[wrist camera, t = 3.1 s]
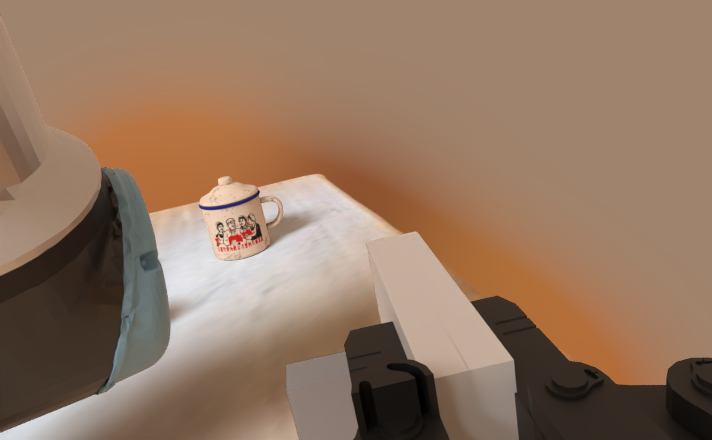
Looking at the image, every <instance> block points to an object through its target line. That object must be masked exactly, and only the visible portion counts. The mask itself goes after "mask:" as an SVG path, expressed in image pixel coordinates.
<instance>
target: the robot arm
mask: <svg viewBox="0 0 712 440" xmlns="http://www.w3.org/2000/svg"><path fill="white" fill-rule="evenodd" d="M366 245H367V251H368V256H369V261H370V267H371V272H372V277H373V283H374V288H375V293H376V299H377V304H378V309H379V315H380V320H381V324H378V325H374V326H369V327H365V328H360V329H356V330H352V331H350V333H349V335H348V338H347V340H346V342H345V344H344V347H345V352H346V358H347V363H348V368H349V373H350V379H351V384H352V389H351V396H352V401H353V405H354V410H355V415H356V419H357V424H358V429H357V433H356V436H355V438H354V439H353V440H712V358H689V359H685V360H682V361H678V362H676V363H675V364H674V365H673V366H671V367H670V368H669V369H668V373H667V380H666V382H667V383H666V385H618V384H615V383H614V382H613V381H612V380H611V379H610V378H609V377H608V376H607V375H606V374H604V373H603V372H601V371H600V370H598V369H597V368H595V367H592V366H589V365H586V364H583V363H581V362H572V361H569V360H568V359H567V358H566V357H565V356H564V355H563V354H562V353H561V352H560V351H559V350H558V348H557V347H556V346H555V345H554V344H553V343H552V342H551V341H550V340H549V339H548V338H547V337H546V336H545V335H544V334H543V333H542V331H541V330H540V329H539V328H536V325H535V324H534V323H533V322H532V321H531V320H530V319H529V318H527V316H526V315H525V313H524V312H523V311H522V310H521V309H520V308H519V307H518V306H517V305H516V304H515V303H512V302H510V301H508V300H506V299H504V298H501V297H499V296H495V297H490V298H485V299H481V300H476V301H472V302H470V301H469V300H468V299H467V297H466V296H465V295H464V293H463V292H462V291H461V289H460V288H459V287H458V285H457V284H456V283H455V281H454V280H453V279H452V277H451V276H450V275H449V274H448V272H447V271H446V270H445V268H444V267H443V266H442V264H441V263H440V262H439V260H438V259H437V258H436V256H435V255H434V254H433V252H432V251H431V250H430V248H429V247H428V246H427V245H426V243H425V242H424V240H423V239H422V238H421V236H420V235H419V234H418V233H417V231H416V232H411V233H407V234H402V235H397V236H393V237H388V238H384V239H379V240H374V241H370V242H366ZM169 339H170V310H169V302H168V295H167V289H166V283H165V279H164V274H163V269H162V266H161V264H160V262H159V260H158V251H157V247H156V240H155V235H154V231H153V227H152V224H151V220H150V217H149V214H148V211H147V208H146V205H145V202H144V199H143V197H142V194H141V192H140V190H139V188H138V186H137V184H136V182H135V180H134V178H133V176H132V175H131V174H130V173H129V172H127V171H126V170H124V169H118V168H117V169H110V168H106V167H105V168H100V164H99V162H98V160H97V158H96V155H95V154H94V152H93V151H92V150H91V149H90V148H89V146H87V145H86V144H85V143H84V142H83V141H81V140H80V139H78V138H77V137H75V136H73V135H71V134H68V133H66V132H64V131H61V130H59V129H56V128H53V127H50V126H47V125H46V124H45V121H44V119H43V117H42V114H41V112H40V109H39V107H38V105H37V102H36V100H35V97H34V95H33V92H32V90H31V88H30V85H29V83H28V81H27V78H26V76H25V73H24V71H23V68H22V66H21V64H20V61H19V59H18V56H17V54H16V51H15V49H14V46H13V44H12V42H11V40H10V37H9V34H8V32H7V30H6V27H5V25H4V22H3V20H2V18H1V15H0V433H1V432H3V431H6V430H8V429H11V428H13V427H16V426H18V425H21V424H23V423H26V422H28V421H31V420H33V419H35V418H38V417H40V416H43V415H45V414H48V413H50V412H53V411H55V410H58V409H60V408H63V407H65V406H68V405H70V404H73V403H75V402H78V401H80V400H83V399H85V398H87V397H90V396H92V395H95V394H97V395H99V394H102V393H104V392H107V391H108V390H109V389H110V388H112V387H113V386H114V385H115V383H117V382H119V381H122V380H124V379H126V378H128V377H130V376H132V375H134V374H136V373H139V372H141V371H143V370H145V369H147V368H149V367H151V366H152V365H154V364H155V363H156V362H157V361H158V360H159V359H160V358H161V357H162V356H163V354H164V353H165V351H166V349H167V346H168V343H169Z"/></svg>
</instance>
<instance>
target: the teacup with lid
mask: <svg viewBox="0 0 712 440" xmlns="http://www.w3.org/2000/svg"><path fill="white" fill-rule="evenodd" d="M218 184H219V185H218V186H216V187H214V188H213V189H212V190H211V192H210V193H208V194H207V195H205V196H203V197H202V198H201V199H200V201H199V207H200V208H201V209H202V212H203V215H204V219H205V222H206V226H207V229H208V232H209V236H210V239H211V243H212V246H213V250H214V253H215V256H216V257H217V258H219V259H221V260H238V259H243V258H246V257H250V256H253V255H255V254H257V253H259V252H261V251H263V250H264V249H266V248H267V247H268V245H269V244H270V238H269V234H268V230H267V229H270V228H272V227H274V226H276V225H277V224H278V223H279V222H280V221H281V219H282V216H283V205H282V203H281V201H280V200H279V199H278V198H276V197H273V196H266V197H262V198H259V193H260V191H259V190H258V188H257V187H256V186H254V185H245V184H242V183H239V182H232V180H231V177H229V176H226V177H222V178H219V179H218ZM267 201H273V202H275V203H277V204H278V208H279V212H278V215H277V217H276V219H275V220H274V221H272V222H270V223H267V224H266V222H265V218H264V214H263V210H262V206H261V203H264V202H267Z"/></svg>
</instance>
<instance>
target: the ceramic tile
mask: <svg viewBox="0 0 712 440" xmlns="http://www.w3.org/2000/svg"><path fill="white" fill-rule="evenodd" d="M351 389H352V384H351V379H350V373H349V368H348V363H347V358H346V352H341V353H336V354H332V355H327V356H323V357H318V358H314V359H309V360H305V361H301V362H296V363H292V364H287V365H286V392H287V396H288V400H289V403H290V407H291V411H292V414H293V418H294V422H295V426H296V429H297V433H298V437H299V440H353V439H354V438H355V436H356V433H357V429H358V424H357V419H356V415H355V410H354V405H353V401H352V396H351Z"/></svg>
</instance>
